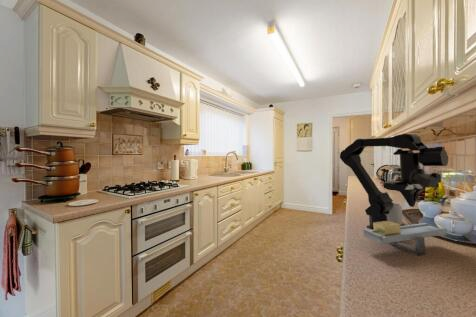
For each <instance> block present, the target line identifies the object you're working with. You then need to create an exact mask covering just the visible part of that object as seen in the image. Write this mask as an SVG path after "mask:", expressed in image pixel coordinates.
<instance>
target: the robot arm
mask: <svg viewBox="0 0 476 317" xmlns="http://www.w3.org/2000/svg"><path fill="white" fill-rule="evenodd" d="M421 139H422V138H421V137H420V135H418V134H416V133H401V134H395V135H392V136H388V137H375V138H374V137H373V138H370V137H369V138H357V139H355V140H354V141H353V142H352V143H351V144H349V145H348V146H346V148H345V149H343V150H341V152H340V153H339V158H340V160H341V161H342V163H344V165H346V166H348V167H349V168H350V169H351V171H352V173H353V174H354V175H355V177H356V178H357V179H358V182H359V183H360V184H361V186H362V187H363V189H364V191H365V192H366V194H367V196H368V198H367V199H368V200H367V201H368V203H369V206H368V207H367V208H366V209H365V210H364V211H365V214H366V215H367V216H368V218H369V219H368V220H369V225H366V228H369V229H370V230H374V228H373V222H381V221H388V220H387V216H386V214H389V212H390V210H392V209H393V206H394V205H393V203H394V202H393V201H394V200H393V199H392V198H391V196H390V194H389V193H388V192H387V191H386V192H382V191H381V190H380V189H379V188H378V186H377V185H376V184H375V182H374V181H373V179H372V177H371V176H370V175H369V173H368V171H367V170H366V168H365V167H364V166H363V164H362V158H361V154H362V153H363V152H364V150H365V148H366V147H391V148H397V150H395V152H393V153H392V154H393V156H397V155H398V156H399V167H400V168H397V172H400V178H398V179H397V180H385V181H384V182H383V188H384V189H387V190H396V191H399V192H400V193H401V195H402V196H403V198H404V200H405V201H406V203H407V204H408V206H409V207H412V208H414V207H415V205H416V202H417V200H418V198H419V195H420V194H421V193H422V192H424V191H426V190H427V188H439V187H440V184H439V183H441V182H442V176H441V173H439V172H432V173H425V170H424V169H423V168H420V164H422V167H447V165H448V163H449V155H448V153H447V150H446V148H445V146H436V147H427V145H426V144H425V143H423V142H422V140H421ZM404 149H405V150H404ZM414 151H416V152H414ZM417 151H418V152H417Z"/></svg>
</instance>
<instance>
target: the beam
mask: <svg viewBox="0 0 476 317" xmlns="http://www.w3.org/2000/svg"><path fill="white" fill-rule="evenodd" d="M400 232H401V234H398V235H391V236H384V237H383V236H381V235H379V234H377V233H374V229H366V228H363V237H365V238H366V239H370V240H371V241H374V242H376V243H378V244H380V245H382V244H390V243H391V242H397V241H399V242H402V241H403V242H405V241H410V240H413V241H415V237H420V236H421V237H424V239H425V238H430V237H437V236H444V235H448V229H447V228H446V227H443V228H442V227H441V228H438V227H435V226H431V225H428V223H427V222H424V223H423V222H422V223H415V224H414V223H413V224H408V225H400Z"/></svg>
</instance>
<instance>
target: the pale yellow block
mask: <svg viewBox="0 0 476 317" xmlns="http://www.w3.org/2000/svg"><path fill="white" fill-rule="evenodd" d="M400 226H401V225H400V224H397V223H394V222H391V221H381V222H373V228H374V229H373V230H374V233H377V234H379V235H381V236H383V237H384V236H391V235H398V234H401V232H400Z"/></svg>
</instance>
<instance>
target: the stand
mask: <svg viewBox="0 0 476 317" xmlns="http://www.w3.org/2000/svg"><path fill="white" fill-rule="evenodd" d="M389 244H390V245H393V246H395V247H397V248H400V249H402V250H405V251H407V252H409V253H412V254H414V255H417V256H419V257H420V256H421V257H422V256H425V255H426V243H425V238H424V237H421V236H420V237H415V240H414V246H412V245H409V244H407V243H404V242H402V241H397V242H391V243H389Z"/></svg>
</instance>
